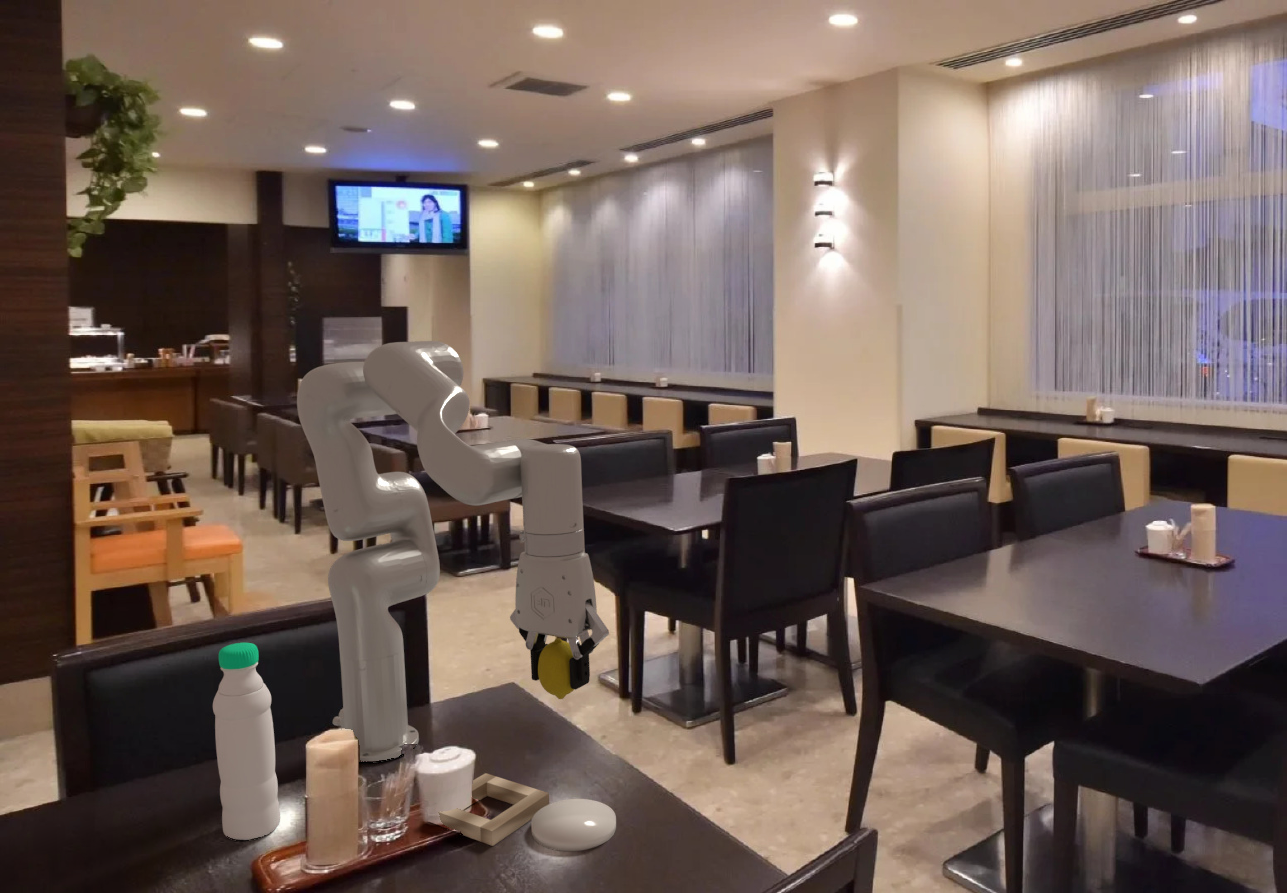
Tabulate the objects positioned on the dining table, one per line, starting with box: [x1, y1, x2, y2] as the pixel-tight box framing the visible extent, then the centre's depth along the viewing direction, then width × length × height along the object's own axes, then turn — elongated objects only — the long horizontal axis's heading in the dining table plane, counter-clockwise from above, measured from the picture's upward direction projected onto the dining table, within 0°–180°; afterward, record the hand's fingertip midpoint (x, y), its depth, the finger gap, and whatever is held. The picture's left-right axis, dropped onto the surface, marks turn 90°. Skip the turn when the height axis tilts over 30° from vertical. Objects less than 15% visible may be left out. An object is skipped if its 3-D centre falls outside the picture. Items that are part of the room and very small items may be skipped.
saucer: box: [530, 798, 617, 852], centre depth 127 cm, size 11×11×1 cm
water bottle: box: [212, 642, 281, 839], centre depth 127 cm, size 7×7×25 cm
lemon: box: [538, 637, 575, 700], centre depth 125 cm, size 6×6×8 cm
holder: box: [438, 772, 550, 847], centre depth 131 cm, size 12×12×2 cm
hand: (560, 680), depth 125 cm, fingers closed on lemon, 5 cm apart
